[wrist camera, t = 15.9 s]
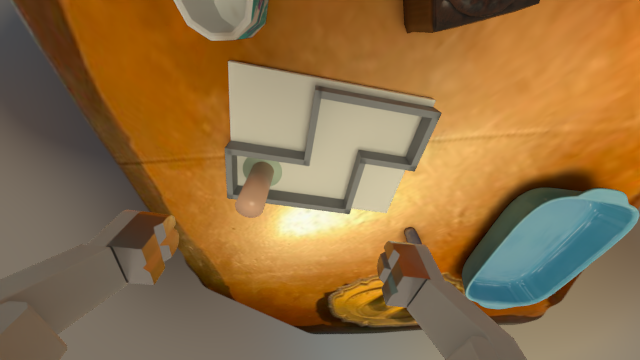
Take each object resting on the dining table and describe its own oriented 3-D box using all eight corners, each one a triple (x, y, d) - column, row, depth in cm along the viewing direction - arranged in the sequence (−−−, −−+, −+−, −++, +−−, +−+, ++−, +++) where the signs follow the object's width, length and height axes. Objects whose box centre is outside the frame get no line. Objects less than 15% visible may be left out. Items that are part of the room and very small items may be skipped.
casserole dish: (524, 162, 43) (557, 183, 37) (627, 178, 46) (674, 200, 40) (438, 280, 63) (451, 306, 57) (513, 287, 65) (532, 313, 59)
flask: (402, 228, 52) (420, 270, 43) (415, 225, 52) (436, 266, 43) (410, 253, 57) (427, 296, 48) (422, 250, 56) (442, 292, 47)
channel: (432, 98, 37) (444, 106, 33) (385, 209, 49) (390, 223, 45) (230, 60, 33) (220, 64, 30) (234, 189, 46) (227, 202, 42)
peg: (274, 163, 41) (264, 198, 33) (273, 181, 43) (262, 219, 35) (251, 159, 41) (234, 194, 32) (251, 179, 43) (235, 215, 34)
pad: (283, 156, 41) (283, 157, 40) (280, 188, 44) (280, 189, 44) (243, 150, 40) (242, 151, 40) (243, 183, 44) (242, 184, 43)
